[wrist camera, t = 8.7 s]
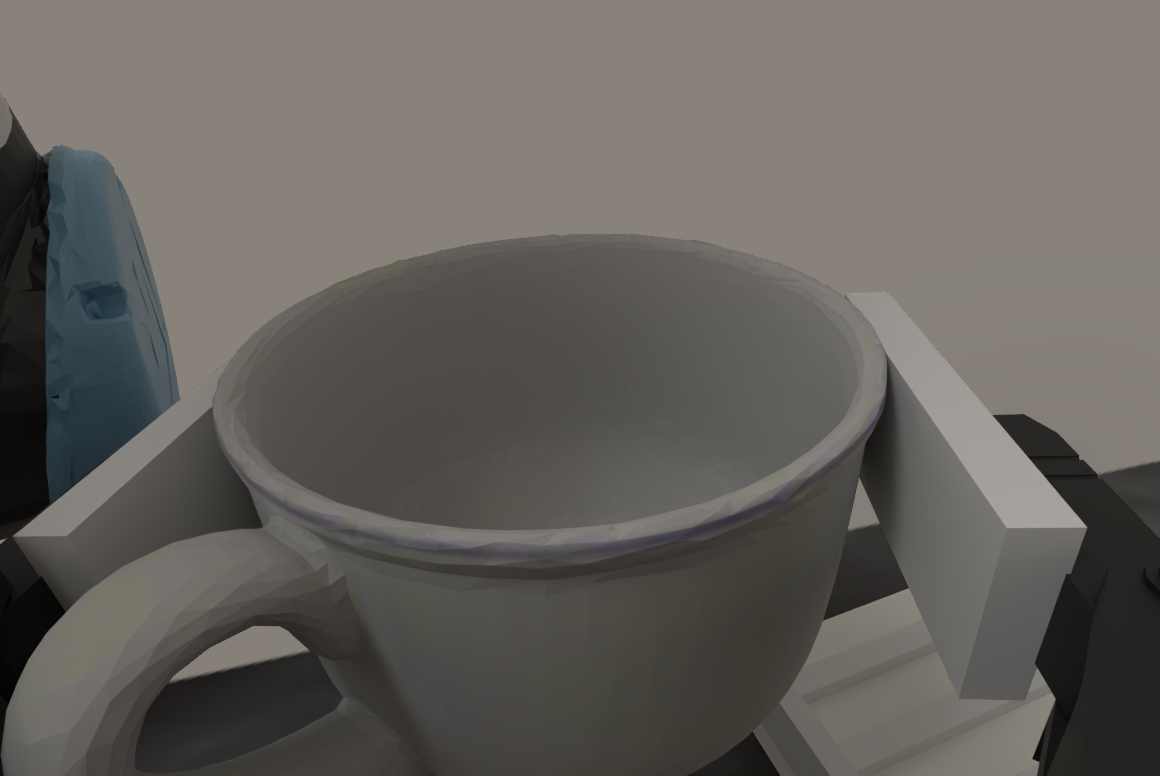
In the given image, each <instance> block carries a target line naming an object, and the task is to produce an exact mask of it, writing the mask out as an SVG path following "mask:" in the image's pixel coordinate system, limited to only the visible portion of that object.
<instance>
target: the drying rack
mask: <svg viewBox="0 0 1160 776" xmlns="http://www.w3.org/2000/svg"><path fill="white" fill-rule="evenodd" d="M1054 702H1055V697H1054V695H1053V694H1052V692H1051V690H1050V688H1049V687H1048V685H1047V683H1046V682H1045V680H1044V678H1043V677H1042V675H1041V673H1040V672H1039V670H1038V668H1037V669H1036V672H1035V675H1034V677H1033V680H1032V683H1031V686H1030V689H1029V691H1028V694H1027V697H1026V700H1025V701H1021V700H978V699H958V697H957V694H956V692H955V690H954V688H953V686H952V683H951V681H950V679H949V677H948V674H947V672H946V670H945V668H944V665H943V663H942V661H941V659H940V656H939V654H938V652H937V650H936V647H935V645H934V643H933V641H932V639H931V636H930V634H929V632H928V630H927V627H926V625H925V623H924V621H923V618H922V616H921V614H920V612H919V609H918V607H917V605H916V603H915V600H914V598H913V596H912V594H911V592H910V589H909V588H908V589H906V590H903V591H900V592H898V593H895V594H893V595H890V596H887V597H885V598H882V599H879V600H877V601H874V602H872V603H869V604H866V605H864V606H861V607H858V608H856V609H853V610H850V611H848V612H845V613H843V614H840V615H837V616H835V617H832V618H829V619H827V620H824V621H823V622H822V625H821V628H820V630H819V633H818V635H817V637H816V640H815V642H814V645H813V647H812V649H811V652H810V654H809V656H808V658H807V660H806V662H805V664H804V666H803V667H802V669H801V671H800V672H799V674H798V676H797V677H796V679H795V681H794V683H793V684H792V686H791V688H790V689H789V691H788V692H787V693H786V695H785V696H784V697H783V698H782V700H781V701H780V702H779V704H778V705H777V706H776V707H775V708H774V710H773V711H772V712H771V713H770V714H769V715H768V716H767V717H766V718H765V719H764V720H763V721H762V722H761V723H760V724H759V725H758V726H757V727H756V728H755V729H754V730H753V733H754V735H755V736H756V738H757V739H758V741H759V743H760V744H761V746H762V747H763V749H764V750H765V752H766V754H767V755H768V757H769V758H770V760H771V762H772V763H773V765H774V766H775V768H776V770H777V771H778V773H779V774H780V776H1037V772H1038V767H1039V762H1038V761H1035V760H1033V759H1032V758H1033V755H1034V753H1035V750H1036V748H1037V745H1038V743H1039V740H1040V738H1041V735H1042V732H1043V730H1044V727H1045V725H1046V722H1047V720H1048V717H1049V715H1050V712H1051V710H1052V707H1053V705H1054Z"/></svg>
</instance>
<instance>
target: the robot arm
mask: <svg viewBox="0 0 1160 776" xmlns="http://www.w3.org/2000/svg"><path fill="white" fill-rule="evenodd" d="M845 298H846V299H848V300H849V301H850V302H851V303H852V304H853V305H854V306H856V307H857V308H858V309H859V310H860V311H861V312H862V313H863V315H864V316H865V318H866V319H867V320H868V321H869V322H870V323H871V324H872V326H873V327H874V329H875V331H876V334H877V336H878V338H879V340H880V342H881V344H882V346H883V347H884V349H885V354H886V359H887V386H886V400H885V404H884V407H883V411H882V414H881V416H880V418H879V420H878V422H877V424H876V426H875V428H874V430H873V432H872V434H871V435H870V436H869V438H868V439H867V441H866V443H865V448H864V454H863V459H862V464H861V469H860V475H859V477H860V480H861V482H862V484H863V486H864V489H865V491H866V493H867V495H868V497H869V500H870V502H871V504H872V506H873V509H874V511H875V513H876V515H877V518H878V520H879V522H880V524H881V527H882V529H883V531H884V533H885V536H886V538H887V540H888V542H889V545H890V547H891V549H892V551H893V553H894V556H895V558H896V560H897V562H898V565H899V567H900V569H901V571H902V574H903V576H904V578H905V580H906V583H907V585H908V587H909V589H910V592H911V594H912V596H913V598H914V600H915V603H916V605H917V607H918V609H919V612H920V614H921V616H922V618H923V621H924V623H925V625H926V627H927V630H928V632H929V634H930V636H931V639H932V641H933V643H934V645H935V647H936V650H937V652H938V654H939V656H940V659H941V661H942V663H943V665H944V668H945V670H946V672H947V674H948V677H949V679H950V681H951V683H952V686H953V688H954V690H955V692H956V694H957V697H958V699H978V700H1021V701H1025V700H1026V697H1027V694H1028V691H1029V689H1030V686H1031V683H1032V680H1033V677H1034V675H1035V672H1036V669H1037V668H1038V670H1039V672H1040V673H1041V675H1042V677H1043V678H1044V680H1045V682H1046V683H1047V685H1048V687H1049V688H1050V690H1051V692H1052V694H1053V695H1054V697H1055V702H1054V705H1053V707H1052V710H1051V712H1050V715H1049V717H1048V720H1047V722H1046V725H1045V727H1044V730H1043V732H1042V735H1041V738H1040V740H1039V743H1038V745H1037V748H1036V750H1035V753H1034V755H1033V758H1032V759H1033V760H1035V761H1038V762H1039V767H1038V772H1037V776H1160V539H1159V538H1158V537H1157V536H1156V535H1155V533H1154V532H1153V531H1152V530H1151V529H1150V528H1149V527H1148V526H1147V525H1146V524H1145V523H1144V522H1143V521H1142V520H1141V519H1140V518H1139V517H1138V516H1137V515H1136V514H1135V513H1134V512H1133V511H1132V510H1131V509H1130V508H1129V507H1128V506H1127V505H1126V503H1125V502H1124V501H1123V500H1122V499H1121V498H1120V497H1119V496H1118V495H1117V494H1116V493H1115V492H1114V491H1113V490H1112V489H1111V488H1110V487H1109V486H1108V485H1107V484H1106V483H1105V482H1104V481H1103V480H1102V479H1098V478H1097V473H1096V472H1094V470H1092V468H1091V467H1090V466H1089V465H1088V464H1087V463H1086V462H1085V461H1084V460H1079V455H1078V454H1077V453H1076V452H1075V451H1074V450H1073V449H1072V448H1071V447H1070V446H1069V445H1068V444H1067V443H1066V441H1065V440H1064V439H1063V438H1062V437H1061V436H1060V435H1059V434H1058V433H1056V432H1054V431H1053V430H1051V429H1049V428H1048V427H1046V426H1044V425H1042V424H1040V423H1039V422H1036V421H1035V420H1033V419H1031V418H1030V417H1028V416H1026V415H1024V414H1019V415H992V414H991V413H990V412H989V411H988V410H987V409H986V407H985V406H984V405H983V404H982V403H981V401H980V400H979V399H978V398H977V397H976V395H975V394H974V393H973V392H972V391H971V390H970V388H969V387H968V386H967V385H966V384H965V383H964V381H963V380H962V379H961V378H960V377H959V375H957V373H956V372H955V371H954V370H953V368H952V367H951V366H950V365H949V364H948V362H947V361H946V360H945V359H944V358H943V357H942V355H941V354H940V353H939V352H938V351H937V349H936V348H935V347H934V346H933V345H932V344H931V342H930V341H929V340H928V339H927V338H926V336H925V335H924V334H923V333H922V332H921V331H920V330H919V328H918V327H917V326H916V325H915V323H913V321H912V320H911V319H910V318H909V316H908V315H907V314H906V313H905V312H904V311H903V309H902V308H901V307H900V306H899V305H898V304H897V302H896V301H895V300H894V299H893V298H892V296H891V295H890V294H889V293H888V292H887V291H886V292H867V293H848V294H845ZM231 359H232V358H230V359H229V360H228V361H227V362H226V363H224V364H223V365H222V366H221V367H219V368H218V369H217V370H216V371H215V372H213V373H212V374H211V375H210V376H208V377H207V378H206V379H205V380H203V381H202V382H201V383H200V384H199V385H198V386H196V387H195V388H194V389H192V390H191V391H190V392H189V393H188V394H186V395H185V396H184V397H183V398H182V399H180V397H179V390H178V384H177V377H176V372H175V368H174V362H173V357H172V352H171V347H170V342H169V337H168V333H167V328H166V324H165V320H164V315H163V311H162V307H161V303H160V299H159V295H158V292H157V287H156V283H155V280H154V276H153V273H152V269H151V265H150V262H149V258H148V255H147V251H146V248H145V245H144V241H143V238H142V235H141V232H140V229H139V226H138V223H137V220H136V217H135V214H134V211H133V208H132V206H131V203H130V200H129V198H128V195H127V193H126V190H125V188H124V186H123V184H122V183H121V181H120V180H119V178H118V177H117V176H116V174H115V172H114V168H113V166H112V165H111V163H110V162H109V161H108V160H107V159H106V158H105V157H104V156H102V155H100V154H99V153H97V152H93V151H88V150H73V149H71V148H69V147H66V146H63V145H60V146H55V147H53V150H51V151H50V152H49V153H47V154H45V155H43V156H41V155H40V154H39V153H38V152H37V151H36V150H35V149H34V147H33V146H32V144H31V143H30V141H29V139H28V138H27V136H26V134H25V133H24V131H23V129H22V127H21V126H20V124H19V122H18V121H17V119H16V117H15V116H14V114H13V112H12V110H11V109H10V107H9V105H8V103H7V102H6V100H5V99H4V98H3V96H2V95H1V93H0V540H2V539H6V538H7V539H6V540H5V541H4V542H2V544H0V776H3V770H2V762H1V747H2V740H3V733H4V725H5V718H6V710H7V708H8V705H9V703H10V700H11V698H12V695H13V693H14V690H15V688H16V685H17V683H18V680H19V678H20V676H21V674H22V672H23V670H24V668H25V666H26V664H27V662H28V660H29V658H30V657H31V655H32V654H33V652H34V651H35V649H36V648H37V647H38V645H39V644H40V642H41V641H42V639H43V638H44V636H45V635H46V633H47V632H48V631H49V630H50V629H51V628H52V627H53V626H54V625H55V624H56V623H57V622H58V621H59V619H60V618H61V617H62V616H63V615H64V614H65V613H66V612H67V611H68V610H69V609H70V608H71V607H72V606H73V605H74V604H75V603H76V602H77V601H78V600H79V599H80V598H81V597H82V596H83V595H84V594H85V593H86V592H87V591H89V590H90V589H91V588H93V587H94V586H96V585H97V584H98V583H100V582H101V581H103V580H104V579H106V578H107V577H108V576H110V575H111V574H113V573H114V572H115V571H117V570H118V569H120V568H121V567H123V566H125V565H127V564H129V563H131V562H133V561H135V560H137V559H139V558H142V557H144V556H146V555H148V554H150V553H152V552H154V551H156V550H158V549H160V548H162V547H165V546H167V545H169V544H171V543H173V542H177V541H181V540H185V539H190V538H194V537H198V536H202V535H206V534H210V533H215V532H222V531H229V530H236V529H261V528H263V526H262V523H261V520H260V518H259V515H258V512H257V509H256V507H255V504H254V501H253V499H252V496H251V493H250V491H249V488H248V487H247V486H246V485H245V483H244V482H243V481H242V479H241V478H240V477H239V475H238V474H237V472H236V471H235V470H234V468H233V467H232V465H231V464H230V462H229V461H228V459H227V458H226V456H225V454H224V453H223V451H222V450H221V447H220V444H219V442H218V439H217V436H216V433H215V428H214V422H213V411H212V399H213V397H214V394H215V392H216V390H217V387H218V379H219V378H220V376H221V374H222V373H223V371H224V369H225V368H226V366H227V364H228V363H229V361H230V360H231Z"/></svg>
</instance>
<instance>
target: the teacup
mask: <svg viewBox="0 0 1160 776" xmlns="http://www.w3.org/2000/svg"><path fill="white" fill-rule="evenodd" d="M886 386H887V359H886V354H885V349H884V347H883V346H882V344H881V342H880V340H879V338H878V336H877V334H876V331H875V329H874V327H873V326H872V324H871V323H870V322H869V321H868V320H867V319H866V318H865V316H864V315H863V313H862V312H861V311H860V310H859V309H858V308H857V307H856V306H854V305H853V304H852V303H851V302H850V301H849V300H848V299H846V298H845V297H844V296H842V295H841V294H839V293H838V292H836V291H835V290H833V289H832V288H831V287H829V286H827V285H824V284H822V283H821V282H819V281H818V280H816V279H815V278H812V277H810V276H808V275H806V274H804V273H801V272H799V271H797V270H795V269H792V268H790V267H788V266H785V265H783V264H780V263H776V262H773V261H768V260H765V259H762V258H759V257H756V256H753V255H750V254H747V253H742V252H738V251H734V250H730V249H726V248H723V247H720V246H717V245H714V244H710V243H705V242H701V241H696V240H679V239H671V238H663V237H653V236H644V235H634V234H629V235H628V234H570V235H564V236H559V235H548V236H539V237H529V238H519V239H509V240H500V241H492V242H485V243H478V244H472V245H466V246H461V247H456V248H451V249H446V250H440V251H437V252H435V253H432V254H428V255H423V256H418V257H414V258H410V259H406V260H399V261H396V262H394V263H392V264H390V265H388V266H383V267H379V268H375V269H372V270H369V271H367V272H364V273H362V274H359V275H356V276H354V277H351V278H348V279H346V280H343V281H341V282H338V283H336V284H333V285H331V286H330V287H329V288H327V289H325V290H323V291H321V292H319V293H317V294H315V295H312V296H310V297H308V298H306V299H304V300H302V301H301V302H299V303H297V304H295V305H293V306H292V307H290V308H288V309H287V310H286V311H284V312H282V313H280V314H279V315H277V316H276V317H274V318H273V319H271V320H270V321H268V322H267V323H266V324H265V325H264V326H263V327H261V328H260V329H259V330H258V331H257V332H255V333H254V334H253V335H252V336H251V337H250V338H249V339H248V340H247V342H245V344H243V346H242V347H241V348H240V349H239V350H238V351H237V352H236V353H235V355H234V356H233V357H232V359H231V360H230V361H229V363H228V364H227V366H226V368H225V369H224V371H223V373H222V374H221V376H220V378H219V379H218V387H217V390H216V392H215V394H214V397H213V399H212V411H213V422H214V428H215V433H216V436H217V439H218V442H219V444H220V447H221V450H222V451H223V453H224V454H225V456H226V458H227V459H228V461H229V462H230V464H231V465H232V467H233V468H234V470H235V471H236V472H237V474H238V475H239V477H240V478H241V479H242V481H243V482H244V483H245V485H246V486H247V487H248V488H249V491H250V493H251V496H252V499H253V501H254V504H255V507H256V509H257V512H258V515H259V518H260V520H261V523H262V526H263V528H261V529H236V530H229V531H222V532H215V533H210V534H206V535H202V536H198V537H194V538H190V539H185V540H181V541H177V542H173V543H171V544H169V545H167V546H165V547H162V548H160V549H158V550H156V551H154V552H152V553H150V554H148V555H146V556H144V557H142V558H139V559H137V560H135V561H133V562H131V563H129V564H127V565H125V566H123V567H121V568H120V569H118V570H117V571H115V572H114V573H113V574H111V575H110V576H108V577H107V578H106V579H104V580H103V581H101V582H100V583H98V584H97V585H96V586H94V587H93V588H91V589H90V590H89V591H87V592H86V593H85V594H84V595H83V596H82V597H81V598H80V599H79V600H78V601H77V602H76V603H75V604H74V605H73V606H72V607H71V608H70V609H69V610H68V611H67V612H66V613H65V614H64V615H63V616H62V617H61V618H60V619H59V621H58V622H57V623H56V624H55V625H54V626H53V627H52V628H51V629H50V630H49V631H48V632H47V633H46V635H45V636H44V638H43V639H42V641H41V642H40V644H39V645H38V647H37V648H36V649H35V651H34V652H33V654H32V655H31V657H30V658H29V660H28V662H27V664H26V666H25V668H24V670H23V672H22V674H21V676H20V678H19V680H18V683H17V685H16V688H15V690H14V693H13V695H12V698H11V700H10V703H9V705H8V708H7V710H6V718H5V725H4V733H3V740H2V747H1V762H2V770H3V776H428V775H434V776H687V775H689V774H691V773H693V772H695V771H697V770H699V769H700V768H702V767H704V766H706V765H707V764H709V763H711V762H713V761H714V760H716V759H718V758H720V757H721V756H723V755H724V754H725V753H727V752H728V751H729V750H731V749H732V748H733V747H735V746H736V745H737V744H739V743H740V742H741V741H743V740H744V739H745V738H746V737H748V736H749V735H750V733H751V732H752V731H753V730H754V729H755V728H756V727H757V726H758V725H759V724H760V723H761V722H762V721H763V720H764V719H765V718H766V717H767V716H768V715H769V714H770V713H771V712H772V711H773V710H774V708H775V707H776V706H777V705H778V704H779V702H780V701H781V700H782V698H783V697H784V696H785V695H786V693H787V692H788V691H789V689H790V688H791V686H792V684H793V683H794V681H795V679H796V677H797V676H798V674H799V672H800V671H801V669H802V667H803V666H804V664H805V662H806V660H807V658H808V656H809V654H810V652H811V649H812V647H813V645H814V642H815V640H816V637H817V635H818V633H819V630H820V628H821V625H822V622H823V618H824V615H825V612H826V609H827V605H828V602H829V599H830V595H831V592H832V589H833V585H834V582H835V578H836V574H837V570H838V566H839V562H840V558H841V554H842V550H843V546H844V542H845V538H846V534H847V530H848V525H849V521H850V516H851V512H852V507H853V503H854V498H855V493H856V489H857V483H858V479H859V475H860V469H861V464H862V459H863V454H864V448H865V443H866V441H867V439H868V438H869V436H870V435H871V434H872V432H873V430H874V428H875V426H876V424H877V422H878V420H879V418H880V416H881V414H882V411H883V407H884V404H885V400H886ZM252 626H281V627H282V628H284V629H286V630H288V631H289V632H290V633H291V634H292V635H293V636H294V637H295V638H296V639H298V640H299V641H300V642H301V643H302V644H303V645H304V646H305V647H307V648H308V649H309V650H310V651H311V652H312V653H313V654H316V655H317V656H318V658H319V660H320V661H321V663H322V665H323V667H324V669H325V670H326V672H327V674H328V676H329V678H330V680H331V681H332V683H333V684H334V686H335V687H336V688H337V690H338V691H339V692H340V694H341V695H342V696H343V699H342V701H341V702H340V704H339V706H338V707H337V709H336V710H334V711H332V712H330V713H329V714H327V715H325V716H323V717H321V718H320V719H318V720H316V721H314V722H312V723H310V724H309V725H307V726H305V727H303V728H301V729H299V730H298V731H295V732H293V733H291V734H289V735H287V736H285V737H283V738H281V739H279V740H277V741H275V742H273V743H271V744H269V745H267V746H265V747H262V748H260V749H257V750H254V751H252V752H249V753H247V754H244V755H241V756H239V757H236V758H234V759H231V760H227V761H224V762H220V763H216V764H213V765H209V766H206V767H202V768H198V769H194V770H187V771H180V772H173V773H148V772H142V771H139V770H136V768H135V764H134V763H135V750H136V745H137V742H138V738H139V735H140V732H141V728H142V725H143V722H144V718H145V715H146V712H147V710H148V709H149V707H150V706H151V705H152V703H153V702H154V701H155V699H156V698H157V696H158V695H159V694H160V692H161V691H162V690H163V688H164V687H165V686H166V685H167V683H168V682H169V681H170V680H171V678H172V677H173V676H174V675H175V674H176V673H178V672H179V671H180V670H182V669H183V668H184V667H185V666H187V665H188V664H189V663H190V662H192V661H193V660H194V659H195V658H197V657H198V656H199V655H201V654H202V653H203V652H204V651H206V650H207V649H208V648H210V647H212V646H214V645H216V644H218V643H220V642H222V641H224V640H226V639H228V638H230V637H232V636H234V635H235V634H238V633H240V632H242V631H244V630H246V629H248V628H250V627H252Z"/></svg>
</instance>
